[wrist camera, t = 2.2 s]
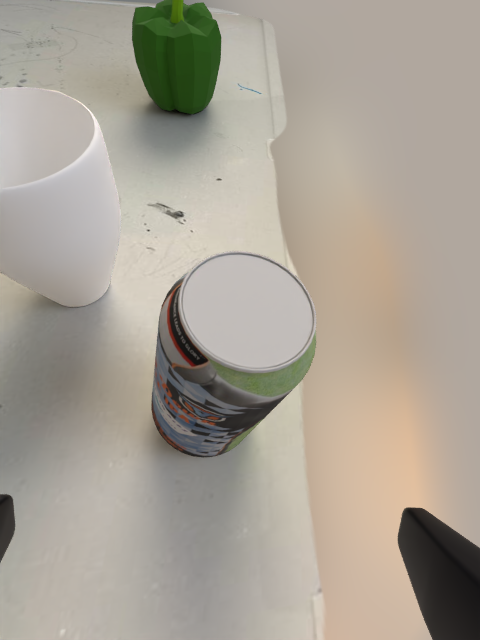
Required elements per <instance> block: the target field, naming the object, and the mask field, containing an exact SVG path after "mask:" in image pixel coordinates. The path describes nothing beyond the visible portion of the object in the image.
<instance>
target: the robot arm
mask: <svg viewBox="0 0 480 640" xmlns="http://www.w3.org/2000/svg"><path fill="white" fill-rule="evenodd" d="M14 531H15V516H14V505H13V498H12V497H11V496H10V495H7V494H0V562H1V560H2V558H3V556H4V554H5V552H6V550H7V548H8V546H9V544H10V542H11V539H12V537H13V535H14ZM398 545H399V549H400V552H401V555H402V557H403V561H404V563H405V566H406V569H407V572H408V575H409V578H410V581H411V584H412V587H413V590H414V593H415V595H416V598H417V601H418V604H419V607H420V610H421V612H422V615H423V618H424V621H425V623H426V625H427V628H428V630H429V632H430V635H431V637H432V639H433V640H480V548H479V547H477V546H476V545H475V544H473V543H472V542H470V541H469V540H468V539H466V538H464V537H463V536H462V535H460V534H459V533H458V532H456V531H454V530H453V529H452V528H450V527H449V526H447V525H446V524H445V523H443V522H442V521H440V520H439V519H437V518H436V517H435V516H433V515H432V514H430V513H429V512H428V511H426V510H425V509H422V508H405V509H404V511H403V513H402V518H401V523H400V528H399V533H398Z"/></svg>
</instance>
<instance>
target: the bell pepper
mask: <svg viewBox="0 0 480 640" xmlns="http://www.w3.org/2000/svg"><path fill="white" fill-rule="evenodd" d="M132 41H133V47H134V53H135V58H136V63H137V66H138V69H139V71H140V74H141V77H142V80H143V82H144V84H145V87H146V89H147V91H148V94H149V96H150V97H151V98H152V99H153V101H154V102H155V103H156V104H157V105H158V106H159V107H160V108H161V109H164V110H167V111H171V110H174V109H177V110H178V111H180V112H183V113H188V114H194V113H197V112H200V111H202V110H203V109H204V108H205V107H206V106H207V105H208V104H209V102H210V100H211V99H212V96H213V92H214V89H215V85H216V80H217V75H218V70H219V65H220V58H221V34H220V31H219V28H218V24H217V21H216V20H214V19H213V18H212V15H211V13H210V12H209V10H208V9H207V7H206V6H205V4H204V3H195V4H192V5H189V6H188V5H186V4H184V3H183V0H164V1H162V2H160V3H158V4H157V5H156V8H152V7H138V8H135V13H134V17H133V22H132Z"/></svg>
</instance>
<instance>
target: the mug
mask: <svg viewBox="0 0 480 640" xmlns="http://www.w3.org/2000/svg"><path fill="white" fill-rule="evenodd" d="M120 233H121V210H120V203H119V197H118V193H117V188H116V184H115V180H114V177H113V173H112V169H111V165H110V161H109V157H108V153H107V149H106V145H105V141H104V138H103V135H102V132H101V129H100V126H99V124H98V122H97V120H96V118H95V117H94V115H93V114H92V113H91V111H90V110H89V109H88V108H87V107H86V106H84V105H83V104H82V103H80V102H79V101H77V100H75V99H74V98H72V97H69V96H67V95H65V94H62V93H60V92H58V91H53V90H46V89H40V88H29V87H10V88H0V272H1V273H3V274H4V275H6V276H7V277H9V278H11V279H12V280H14V281H16V282H18V283H20V284H21V285H23V286H25V287H27V288H29V289H31V290H33V291H35V292H37V293H39V294H41V295H43V296H45V297H47V298H49V299H51V300H53V301H55V302H57V303H59V304H61V305H64V306H68V307H80V306H85V305H88V304H91V303H93V302H95V301H97V300H98V299H99V298H101V297H102V296H103V295H104V294H105V292H106V291H107V289H108V287H109V285H110V281H111V277H112V272H113V268H114V264H115V259H116V255H117V250H118V246H119V240H120Z"/></svg>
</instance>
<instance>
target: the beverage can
mask: <svg viewBox="0 0 480 640" xmlns="http://www.w3.org/2000/svg"><path fill="white" fill-rule="evenodd" d="M315 328H316V312H315V308H314V304H313V301H312V299H311V297H310V294H309V293H308V291H307V289H306V288H305V286H304V285H303V283H302V282H301V281H300V280H299V279H298V277H297V276H296V275H294V274H293V273H292V272H291V271H290V270H289V269H287V268H286V267H285V266H283V265H282V264H280V263H278V262H276V261H274V260H273V259H271V258H268V257H265V256H263V255H260V254H256V253H251V252H243V251H230V252H223V253H218V254H215V255H212V256H210V257H207V258H205V259H204V260H202V261H201V262H199V263H198V264H196V265H195V266H194V267H193V268H192V269H191V270H190V271H189V272H188V273H186V274H185V275H184V276H182V277H181V278H180V279H179V280H178V281H177V282H176V283H175V284H174V285H173V287H172V288H171V289H170V291H169V292H168V294H167V296H166V298H165V300H164V302H163V304H162V308H161V312H160V317H159V325H158V336H157V347H156V358H155V369H154V380H153V392H152V415H153V419H154V422H155V425H156V427H157V429H158V431H159V433H160V434H161V436H162V437H163V438H164V439H165V440H166V442H167V443H169V444H170V445H171V446H172V447H174V448H175V449H177V450H179V451H180V452H182V453H185V454H188V455H191V456H196V457H213V456H217V455H221V454H223V453H225V452H228V451H230V450H231V449H233V448H234V447H235V446H237V445H238V444H239V443H240V442H241V441H242V440H243V439H244V438H245V437H246V436H247V435H248V434H249V433H250V432H251V431H252V430H253V429H254V428H255V427H256V426H257V425H258V424H259V423H260V422H261V421H262V420H263V419H264V418H265V417H266V416H267V415H268V414H269V413H270V412H271V411H272V410H273V409H274V408H275V407H276V406H277V405H278V404H279V403H280V402H281V401H282V400H283V399H284V398H285V397H286V396H287V395H288V394H289V393H290V392H291V391H292V390H293V389H294V388H295V387H296V386H297V385H298V384H299V382H300V381H301V380H302V379H303V378H304V376H305V375H306V373H307V371H308V370H309V368H310V366H311V363H312V360H313V358H314V354H315V347H316V330H315Z"/></svg>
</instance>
